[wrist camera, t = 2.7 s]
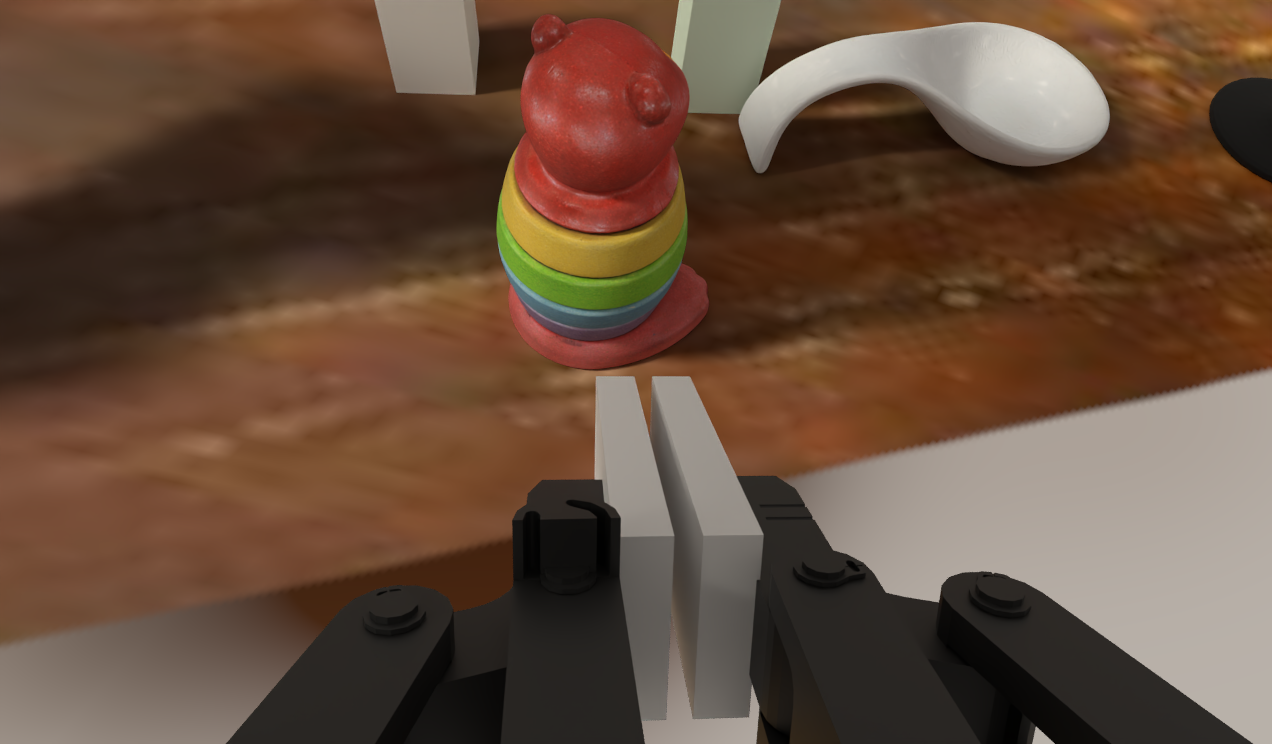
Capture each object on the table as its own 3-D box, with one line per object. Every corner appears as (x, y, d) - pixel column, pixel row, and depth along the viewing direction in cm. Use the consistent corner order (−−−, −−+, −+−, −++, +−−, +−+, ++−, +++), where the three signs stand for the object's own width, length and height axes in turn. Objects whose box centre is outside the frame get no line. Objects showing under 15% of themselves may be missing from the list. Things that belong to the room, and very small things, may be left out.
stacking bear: (723, 303, 47) (801, 52, 31) (598, 416, 43) (617, 193, 28) (590, 195, 50) (601, -84, 34) (462, 291, 46) (409, 26, 31)
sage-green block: (675, 112, 54) (696, -24, 45) (671, 58, 56) (690, -82, 47) (750, 114, 54) (786, -20, 46) (743, 60, 57) (776, -77, 48)
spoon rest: (1036, 59, 59) (1092, -31, 53) (1111, 185, 54) (1184, 102, 48) (721, 89, 56) (741, -3, 49) (770, 228, 50) (798, 144, 44)
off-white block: (396, 92, 53) (362, -51, 44) (403, 38, 55) (373, -108, 46) (475, 95, 53) (457, -47, 44) (479, 41, 56) (463, -104, 47)
